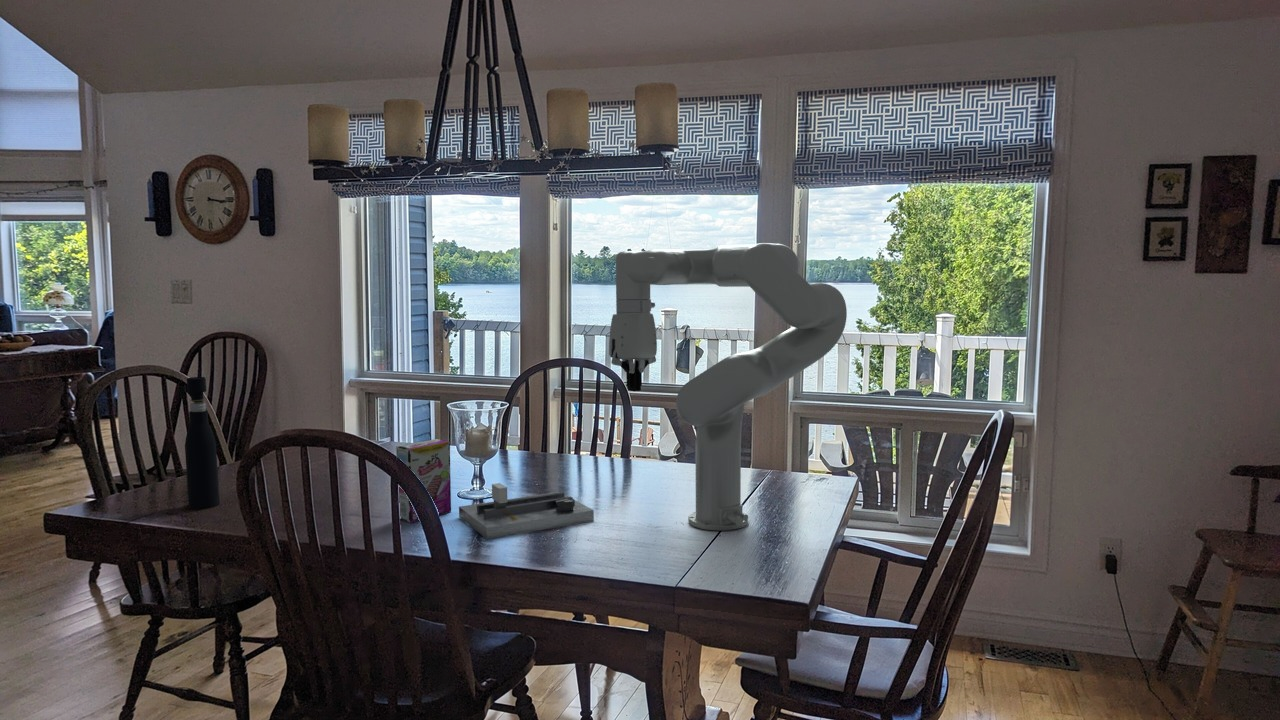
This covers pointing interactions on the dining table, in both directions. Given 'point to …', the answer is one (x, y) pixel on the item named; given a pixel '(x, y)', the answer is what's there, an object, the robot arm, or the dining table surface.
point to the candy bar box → (427, 474)
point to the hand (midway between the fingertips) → (634, 390)
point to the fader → (499, 495)
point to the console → (525, 515)
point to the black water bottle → (200, 451)
